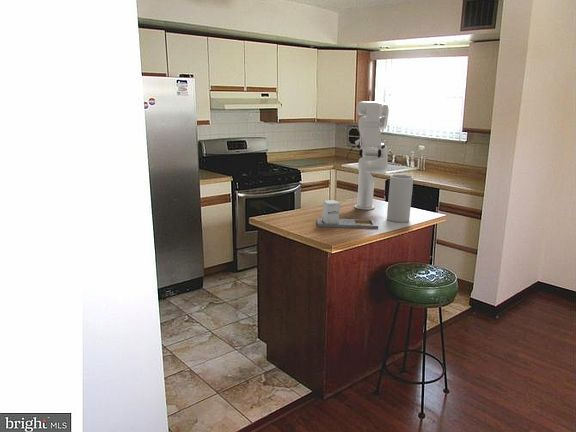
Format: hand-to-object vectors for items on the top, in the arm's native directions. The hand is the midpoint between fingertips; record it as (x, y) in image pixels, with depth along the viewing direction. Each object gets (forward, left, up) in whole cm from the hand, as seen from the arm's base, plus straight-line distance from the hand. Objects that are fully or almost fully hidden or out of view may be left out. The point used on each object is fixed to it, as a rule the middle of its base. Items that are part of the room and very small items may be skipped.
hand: (369, 157), depth 252 cm
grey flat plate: (+14, -12, -35) cm, 40 cm away
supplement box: (+14, -21, -36) cm, 43 cm away
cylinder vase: (0, +18, -36) cm, 40 cm away
